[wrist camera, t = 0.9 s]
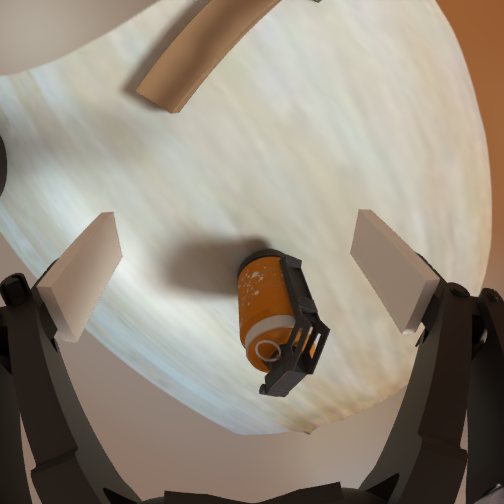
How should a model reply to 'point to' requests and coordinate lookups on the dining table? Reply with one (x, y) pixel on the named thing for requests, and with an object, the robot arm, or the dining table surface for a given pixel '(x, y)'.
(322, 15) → the dining table surface
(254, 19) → the walnut bar
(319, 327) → the canister
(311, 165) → the dining table surface
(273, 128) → the dining table surface
